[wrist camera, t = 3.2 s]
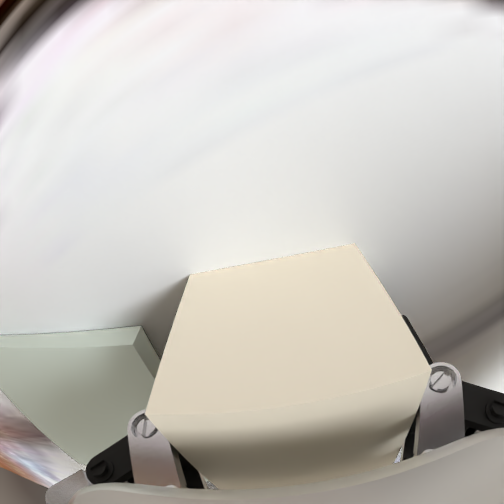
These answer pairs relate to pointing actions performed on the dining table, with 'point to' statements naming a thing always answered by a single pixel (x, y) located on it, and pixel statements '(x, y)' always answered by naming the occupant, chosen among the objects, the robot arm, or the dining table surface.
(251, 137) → the dining table surface
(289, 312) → the cream block
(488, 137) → the dining table surface
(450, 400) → the robot arm
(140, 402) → the board
